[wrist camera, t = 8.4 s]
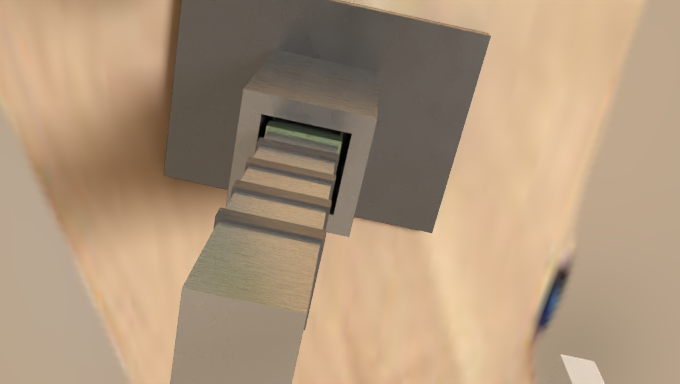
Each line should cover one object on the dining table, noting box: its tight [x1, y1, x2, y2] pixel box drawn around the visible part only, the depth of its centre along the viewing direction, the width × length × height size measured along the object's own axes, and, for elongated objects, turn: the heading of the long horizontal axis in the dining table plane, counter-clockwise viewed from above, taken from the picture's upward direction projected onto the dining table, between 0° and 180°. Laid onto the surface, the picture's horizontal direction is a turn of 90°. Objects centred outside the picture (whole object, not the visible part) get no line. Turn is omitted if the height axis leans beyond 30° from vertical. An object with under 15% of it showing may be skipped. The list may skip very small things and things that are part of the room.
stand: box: [164, 0, 491, 237], centre depth 42 cm, size 16×22×13 cm
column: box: [170, 117, 343, 384], centre depth 31 cm, size 4×4×22 cm
